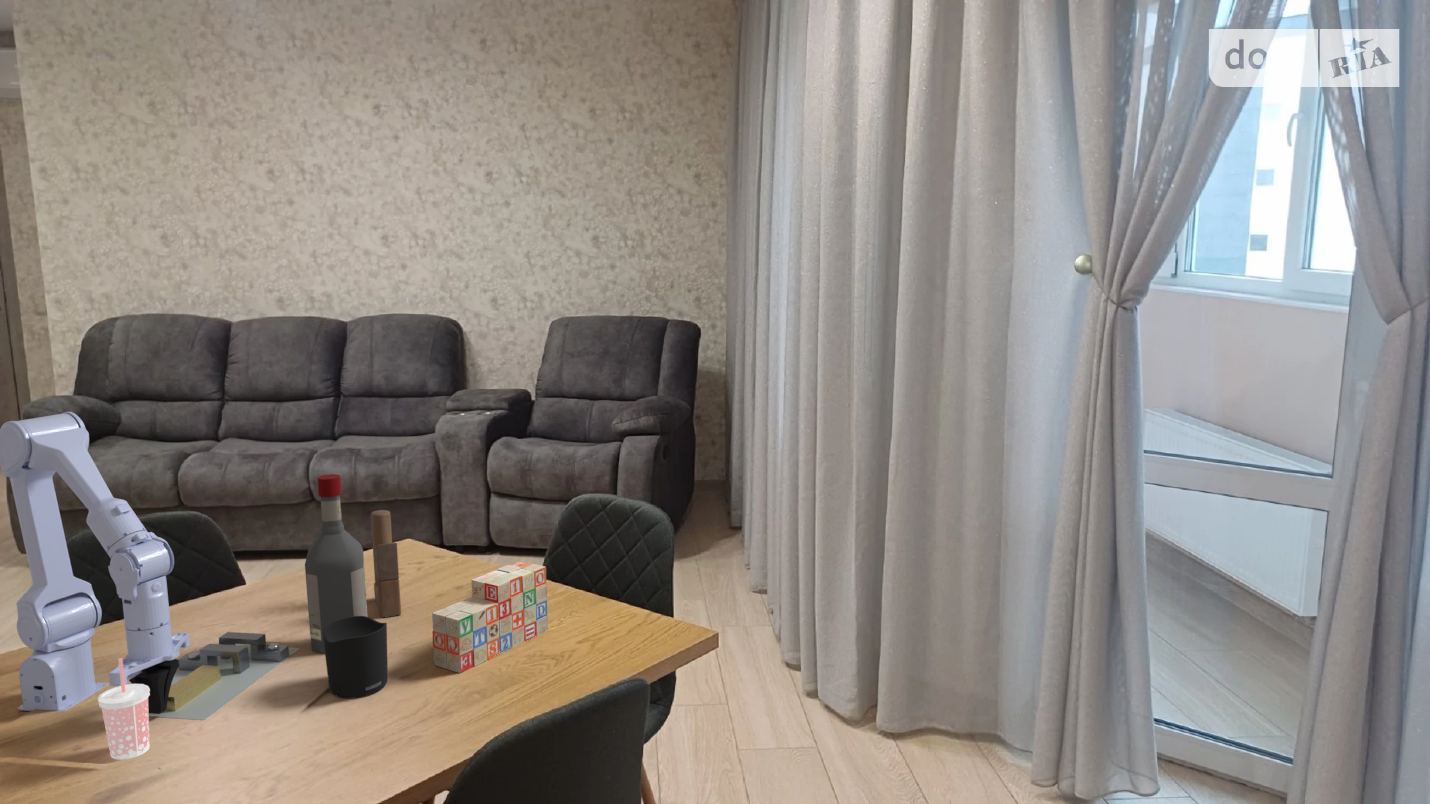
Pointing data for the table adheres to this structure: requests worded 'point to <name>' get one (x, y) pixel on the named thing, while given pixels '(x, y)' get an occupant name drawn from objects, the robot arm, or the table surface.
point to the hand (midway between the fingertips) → (156, 711)
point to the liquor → (333, 567)
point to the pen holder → (356, 656)
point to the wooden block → (385, 565)
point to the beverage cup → (126, 718)
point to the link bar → (192, 686)
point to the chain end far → (256, 646)
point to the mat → (220, 688)
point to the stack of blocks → (491, 617)
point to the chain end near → (210, 657)
